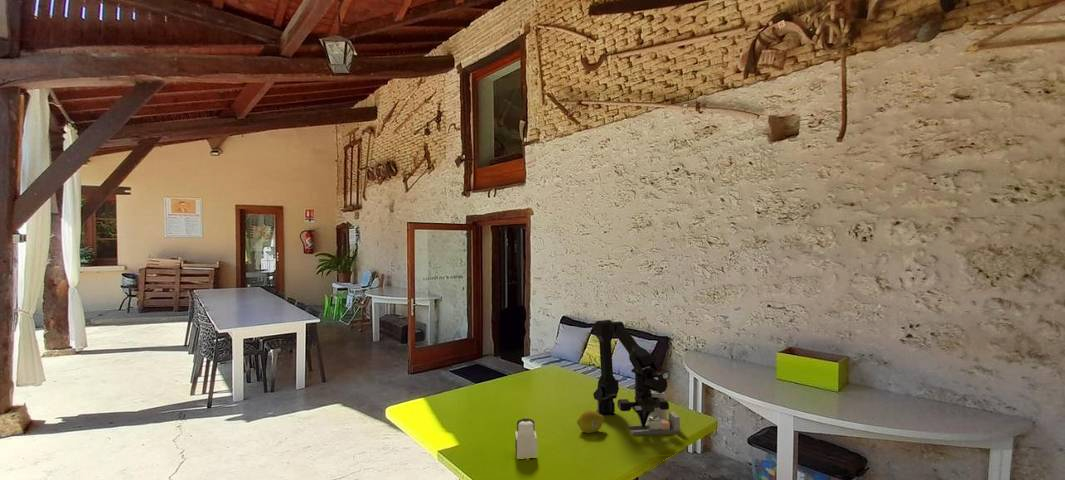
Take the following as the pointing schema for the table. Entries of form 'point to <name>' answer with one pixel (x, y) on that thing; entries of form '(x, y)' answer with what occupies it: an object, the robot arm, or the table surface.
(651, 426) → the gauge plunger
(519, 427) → the medicine bottle
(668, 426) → the block
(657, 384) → the robot arm
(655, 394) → the can
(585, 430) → the lemon
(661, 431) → the gauge bench
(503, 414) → the table surface
